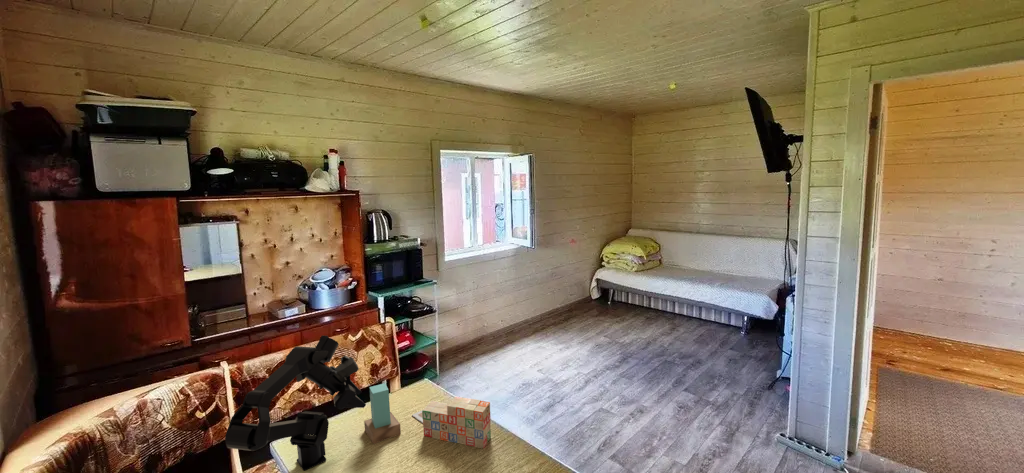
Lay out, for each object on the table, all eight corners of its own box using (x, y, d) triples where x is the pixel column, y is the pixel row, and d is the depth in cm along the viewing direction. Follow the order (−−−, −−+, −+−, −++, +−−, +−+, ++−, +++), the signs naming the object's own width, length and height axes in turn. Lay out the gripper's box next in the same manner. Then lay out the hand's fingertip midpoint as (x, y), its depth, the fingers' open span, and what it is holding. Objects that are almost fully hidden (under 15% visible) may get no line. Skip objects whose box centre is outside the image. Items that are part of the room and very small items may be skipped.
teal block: (375, 428, 137) (372, 393, 136) (371, 421, 142) (369, 387, 140) (390, 423, 140) (388, 389, 138) (387, 416, 144) (384, 383, 142)
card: (423, 423, 146) (422, 422, 146) (412, 415, 151) (411, 414, 151) (446, 412, 153) (446, 410, 153) (435, 404, 158) (435, 403, 158)
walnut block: (373, 445, 135) (372, 433, 135) (365, 431, 142) (364, 420, 142) (400, 434, 140) (400, 423, 140) (391, 422, 148) (390, 411, 147)
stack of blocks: (423, 436, 139) (421, 401, 137) (432, 426, 144) (430, 391, 143) (484, 448, 132) (482, 411, 130) (491, 437, 137) (490, 401, 136)
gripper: (344, 364, 123) (385, 390, 130) (337, 343, 140) (374, 367, 146) (316, 397, 121) (360, 422, 128) (313, 371, 137) (351, 394, 144)
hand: (362, 399), depth 136 cm, fingers open, 9 cm apart
